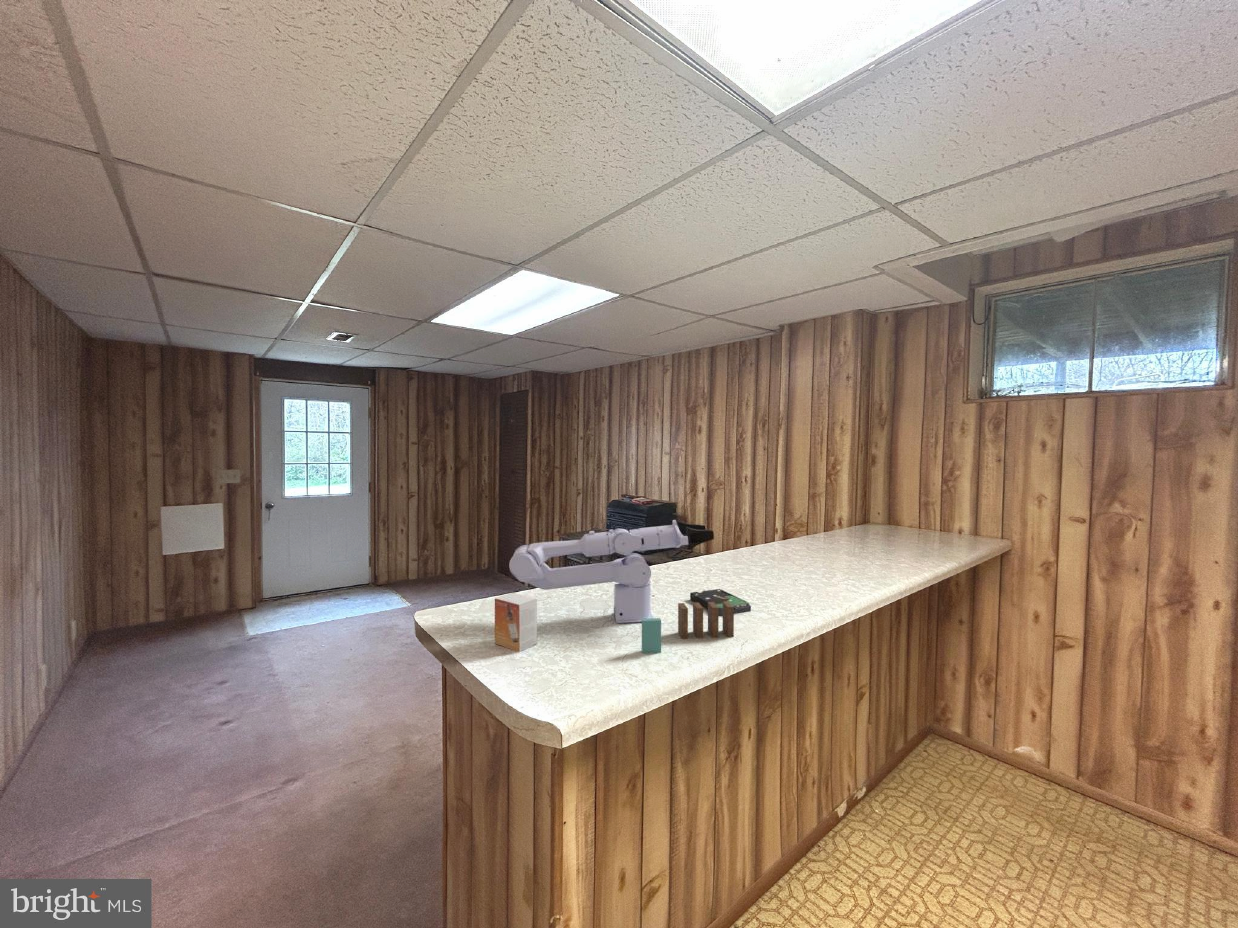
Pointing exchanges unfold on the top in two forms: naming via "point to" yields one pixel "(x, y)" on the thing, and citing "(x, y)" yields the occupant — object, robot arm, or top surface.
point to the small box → (515, 621)
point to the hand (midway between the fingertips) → (709, 531)
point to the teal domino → (651, 635)
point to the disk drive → (720, 600)
